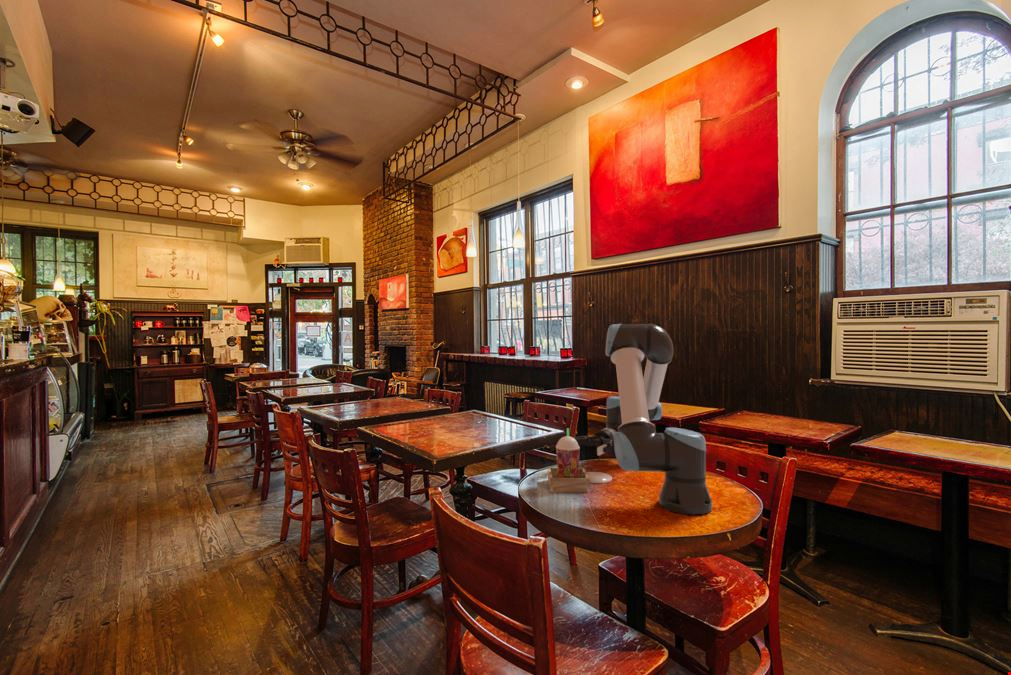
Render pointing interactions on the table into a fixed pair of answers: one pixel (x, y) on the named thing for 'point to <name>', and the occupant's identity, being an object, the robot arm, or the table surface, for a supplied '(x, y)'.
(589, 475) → the pale round disc
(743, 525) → the table surface
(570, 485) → the crate
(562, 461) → the smoothie
